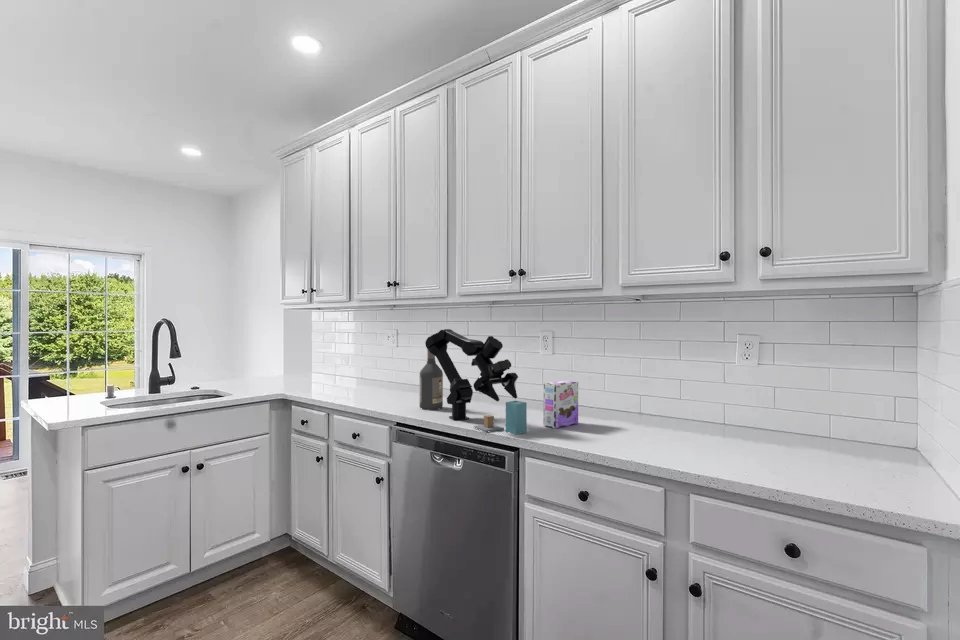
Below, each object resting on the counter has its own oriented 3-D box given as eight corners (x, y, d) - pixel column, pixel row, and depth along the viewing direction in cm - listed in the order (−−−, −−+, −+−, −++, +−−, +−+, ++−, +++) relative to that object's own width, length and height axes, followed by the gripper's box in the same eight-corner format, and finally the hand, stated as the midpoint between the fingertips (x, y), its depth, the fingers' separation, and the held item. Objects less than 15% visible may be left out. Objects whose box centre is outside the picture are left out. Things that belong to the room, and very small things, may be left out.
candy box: (554, 429, 172) (554, 384, 172) (542, 426, 176) (542, 382, 176) (578, 424, 180) (578, 381, 180) (567, 421, 185) (567, 379, 185)
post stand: (473, 428, 173) (473, 415, 173) (491, 425, 177) (491, 413, 177) (485, 432, 166) (485, 419, 166) (504, 429, 170) (504, 416, 170)
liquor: (417, 409, 211) (417, 342, 211) (426, 405, 219) (426, 341, 220) (436, 410, 208) (436, 342, 208) (444, 406, 217) (444, 341, 217)
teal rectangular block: (505, 431, 167) (505, 402, 167) (515, 429, 171) (515, 400, 171) (516, 434, 163) (516, 404, 163) (526, 432, 167) (526, 402, 167)
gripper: (478, 353, 168) (500, 387, 160) (514, 351, 181) (536, 382, 172) (464, 374, 174) (484, 407, 165) (500, 370, 186) (520, 401, 178)
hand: (507, 399), depth 170 cm, fingers open, 9 cm apart
